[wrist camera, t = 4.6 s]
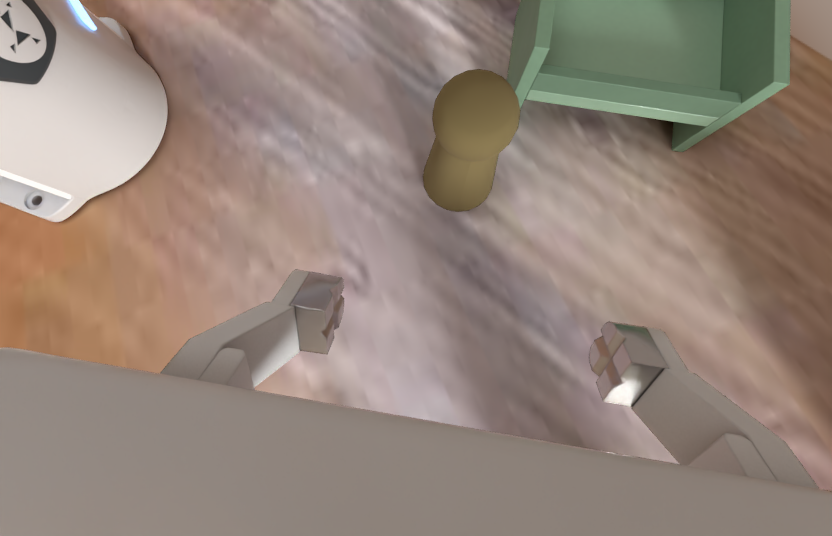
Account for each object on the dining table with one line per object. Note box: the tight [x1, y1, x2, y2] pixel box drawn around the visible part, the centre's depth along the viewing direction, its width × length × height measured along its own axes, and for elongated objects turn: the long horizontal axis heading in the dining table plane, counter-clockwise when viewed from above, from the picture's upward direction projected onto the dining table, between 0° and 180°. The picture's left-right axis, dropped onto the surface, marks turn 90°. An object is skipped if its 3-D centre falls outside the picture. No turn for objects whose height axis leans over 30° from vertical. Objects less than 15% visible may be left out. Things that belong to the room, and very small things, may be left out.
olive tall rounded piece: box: [423, 69, 520, 212], centre depth 25 cm, size 6×6×11 cm
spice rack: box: [507, 0, 790, 152], centre depth 28 cm, size 16×11×9 cm
